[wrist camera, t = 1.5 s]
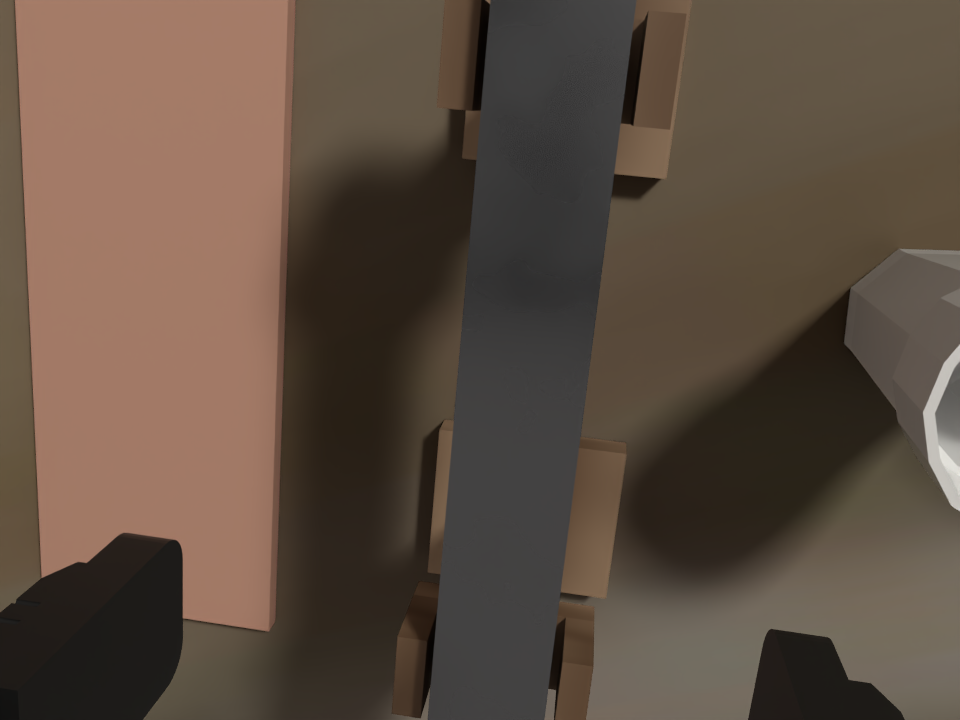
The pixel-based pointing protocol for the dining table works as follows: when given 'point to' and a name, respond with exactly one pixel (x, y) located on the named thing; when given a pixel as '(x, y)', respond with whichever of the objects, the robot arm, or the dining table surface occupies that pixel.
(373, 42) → the dining table surface
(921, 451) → the cup
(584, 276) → the rail
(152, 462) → the mat
